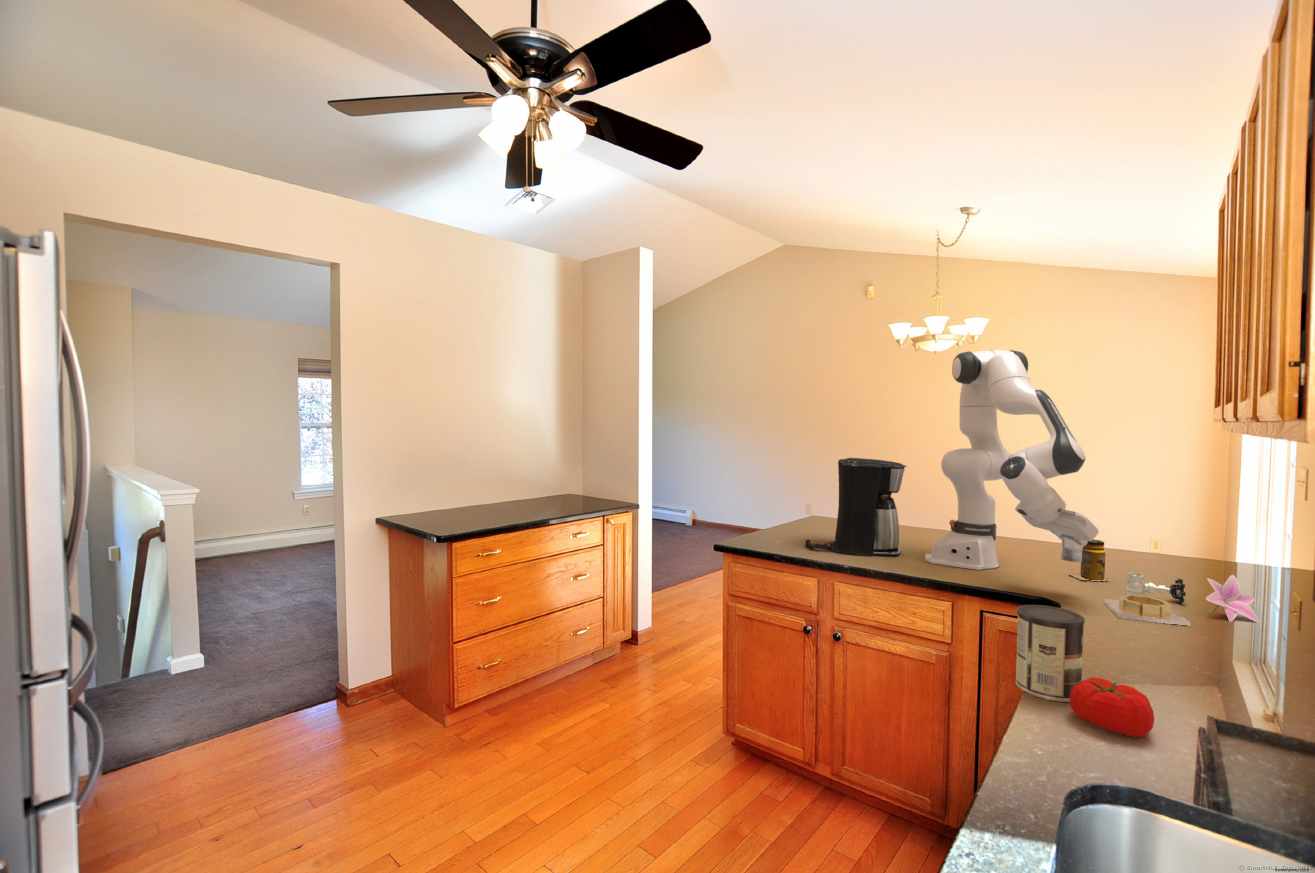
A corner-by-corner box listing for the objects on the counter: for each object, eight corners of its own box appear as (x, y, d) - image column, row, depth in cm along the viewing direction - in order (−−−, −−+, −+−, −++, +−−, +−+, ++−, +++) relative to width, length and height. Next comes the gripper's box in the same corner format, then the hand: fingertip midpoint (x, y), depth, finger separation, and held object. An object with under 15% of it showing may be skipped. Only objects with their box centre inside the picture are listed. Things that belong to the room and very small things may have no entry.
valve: (1128, 599, 166) (1185, 606, 160) (1129, 576, 165) (1186, 582, 160) (1123, 593, 171) (1177, 600, 166) (1124, 570, 171) (1178, 576, 166)
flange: (1118, 617, 150) (1118, 604, 150) (1103, 602, 163) (1104, 589, 163) (1190, 626, 144) (1190, 612, 144) (1169, 609, 157) (1169, 596, 157)
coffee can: (1064, 679, 115) (1067, 605, 114) (1093, 705, 104) (1096, 624, 104) (1005, 674, 116) (1008, 602, 116) (1028, 699, 106) (1031, 620, 106)
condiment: (1111, 582, 183) (1112, 543, 182) (1082, 581, 183) (1083, 542, 183) (1095, 576, 190) (1097, 538, 190) (1067, 575, 191) (1068, 537, 190)
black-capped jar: (1061, 560, 166) (1063, 526, 166) (1058, 556, 171) (1060, 523, 170) (1084, 563, 164) (1086, 528, 164) (1080, 558, 169) (1082, 525, 168)
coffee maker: (914, 556, 214) (917, 461, 212) (830, 560, 207) (833, 462, 206) (878, 542, 236) (880, 456, 235) (801, 545, 229) (803, 457, 228)
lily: (1194, 620, 152) (1217, 593, 147) (1183, 591, 161) (1204, 565, 156) (1251, 641, 148) (1277, 614, 143) (1237, 610, 157) (1261, 584, 152)
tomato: (1079, 704, 105) (1080, 667, 105) (1160, 729, 97) (1161, 689, 96) (1061, 722, 98) (1062, 683, 98) (1146, 751, 90) (1148, 708, 90)
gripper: (1086, 504, 155) (1116, 541, 157) (1024, 492, 175) (1051, 525, 178) (1070, 522, 155) (1100, 558, 157) (1010, 508, 175) (1037, 540, 177)
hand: (1074, 541), depth 167 cm, fingers closed on black-capped jar, 5 cm apart
